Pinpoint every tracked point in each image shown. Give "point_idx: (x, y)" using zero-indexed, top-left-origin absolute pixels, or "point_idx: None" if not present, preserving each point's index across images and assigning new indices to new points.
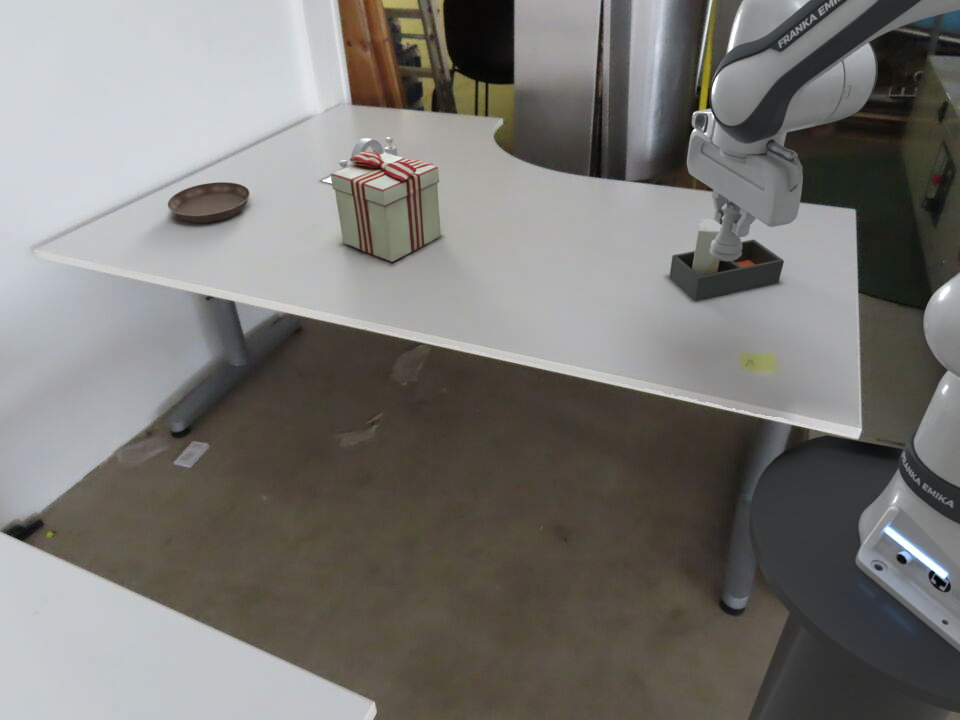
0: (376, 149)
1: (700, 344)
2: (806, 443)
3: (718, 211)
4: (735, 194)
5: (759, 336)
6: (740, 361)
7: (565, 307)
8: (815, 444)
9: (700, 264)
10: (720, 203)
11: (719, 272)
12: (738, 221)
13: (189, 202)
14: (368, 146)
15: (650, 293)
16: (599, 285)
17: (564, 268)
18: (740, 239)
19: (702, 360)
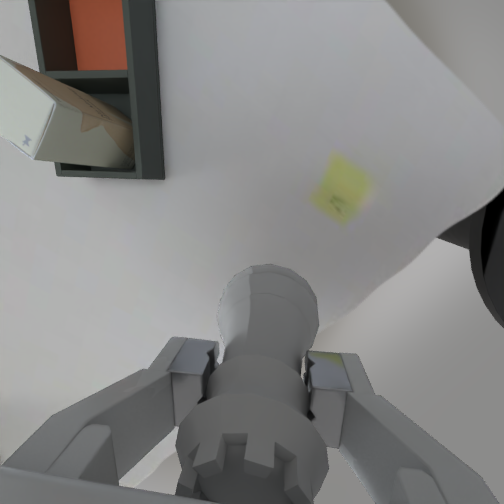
0: None
1: (268, 240)
2: (487, 223)
3: (175, 423)
4: None
5: (287, 143)
6: (328, 213)
7: (131, 346)
8: (496, 214)
9: (106, 155)
10: (139, 441)
11: (134, 128)
12: (360, 477)
13: None
14: None
15: (127, 230)
16: (90, 283)
17: (38, 302)
18: (287, 300)
19: (302, 260)
